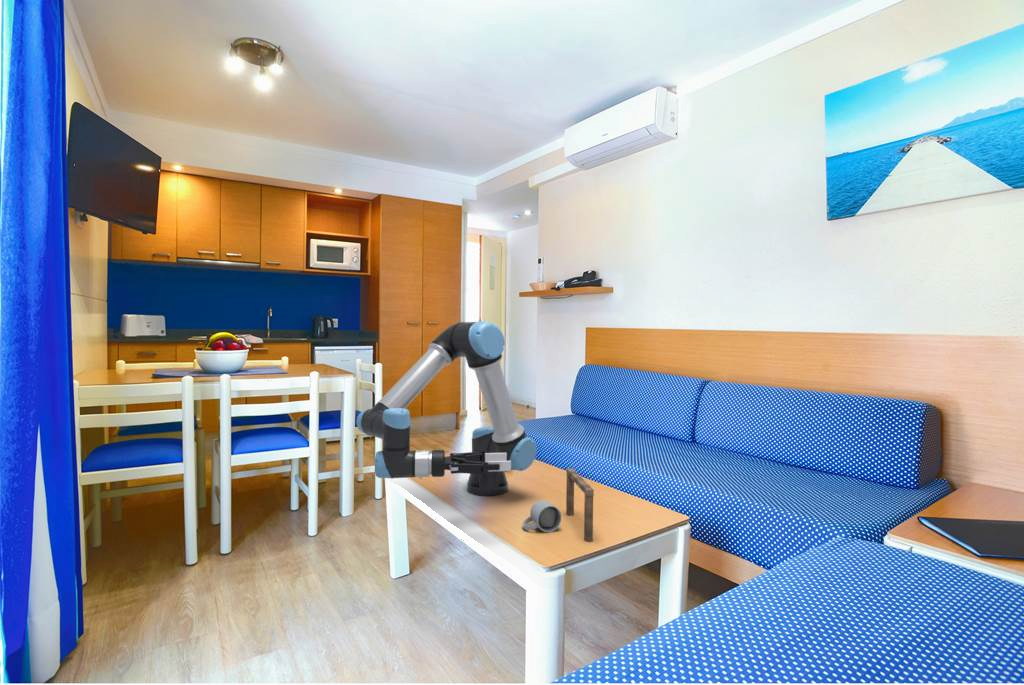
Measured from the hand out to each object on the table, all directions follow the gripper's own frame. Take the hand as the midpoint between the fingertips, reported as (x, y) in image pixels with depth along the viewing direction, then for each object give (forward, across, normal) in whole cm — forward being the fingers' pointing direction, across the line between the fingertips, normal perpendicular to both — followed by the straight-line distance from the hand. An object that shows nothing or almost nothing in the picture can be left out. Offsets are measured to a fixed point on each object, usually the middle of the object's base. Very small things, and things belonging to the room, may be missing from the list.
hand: (508, 461), depth 143 cm
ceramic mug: (+10, 0, -20) cm, 23 cm away
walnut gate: (+21, 0, -20) cm, 29 cm away
